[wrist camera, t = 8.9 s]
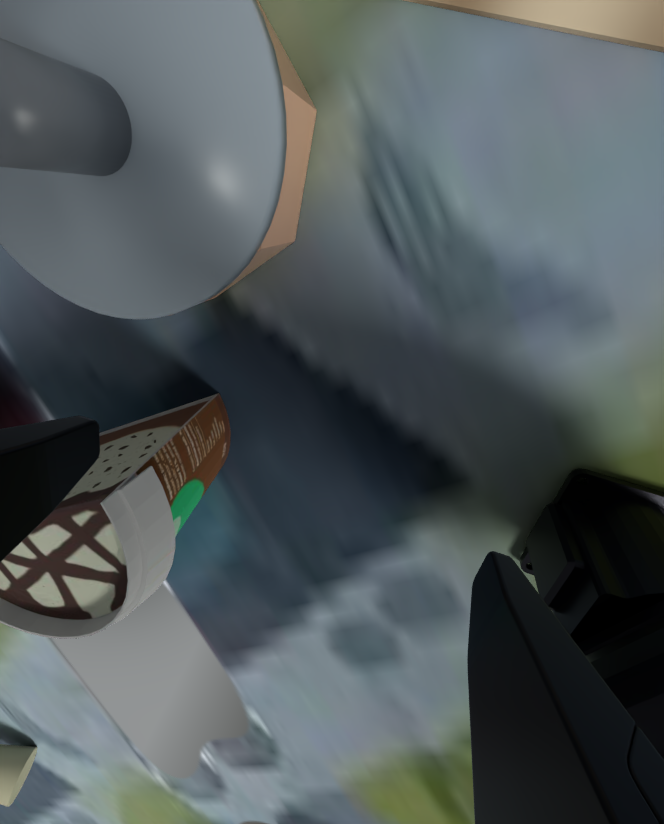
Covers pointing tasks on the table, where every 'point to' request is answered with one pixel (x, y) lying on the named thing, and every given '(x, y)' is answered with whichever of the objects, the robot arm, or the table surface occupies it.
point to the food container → (115, 524)
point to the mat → (576, 17)
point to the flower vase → (14, 770)
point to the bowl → (287, 161)
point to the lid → (138, 147)
